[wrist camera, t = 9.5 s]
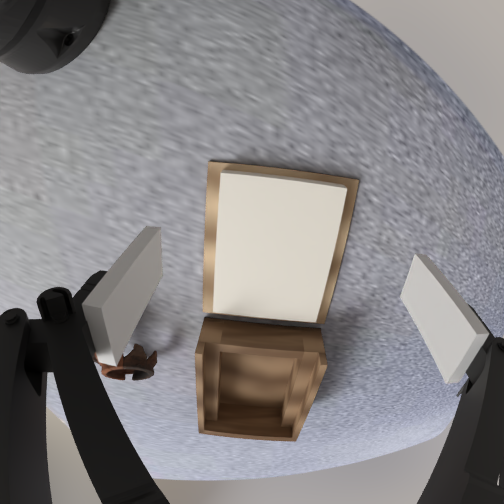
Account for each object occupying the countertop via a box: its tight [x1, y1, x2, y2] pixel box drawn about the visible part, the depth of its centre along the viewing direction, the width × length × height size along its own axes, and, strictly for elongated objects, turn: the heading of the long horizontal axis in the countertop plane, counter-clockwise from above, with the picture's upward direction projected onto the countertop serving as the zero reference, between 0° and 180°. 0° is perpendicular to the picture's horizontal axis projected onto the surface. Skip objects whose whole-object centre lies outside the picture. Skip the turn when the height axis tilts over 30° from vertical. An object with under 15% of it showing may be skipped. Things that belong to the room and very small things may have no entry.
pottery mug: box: [92, 344, 157, 380], centre depth 38 cm, size 12×10×8 cm
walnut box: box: [195, 317, 328, 441], centre depth 39 cm, size 18×15×6 cm
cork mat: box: [203, 161, 359, 324], centre depth 33 cm, size 18×15×1 cm
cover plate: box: [213, 170, 347, 322], centre depth 32 cm, size 16×12×2 cm
